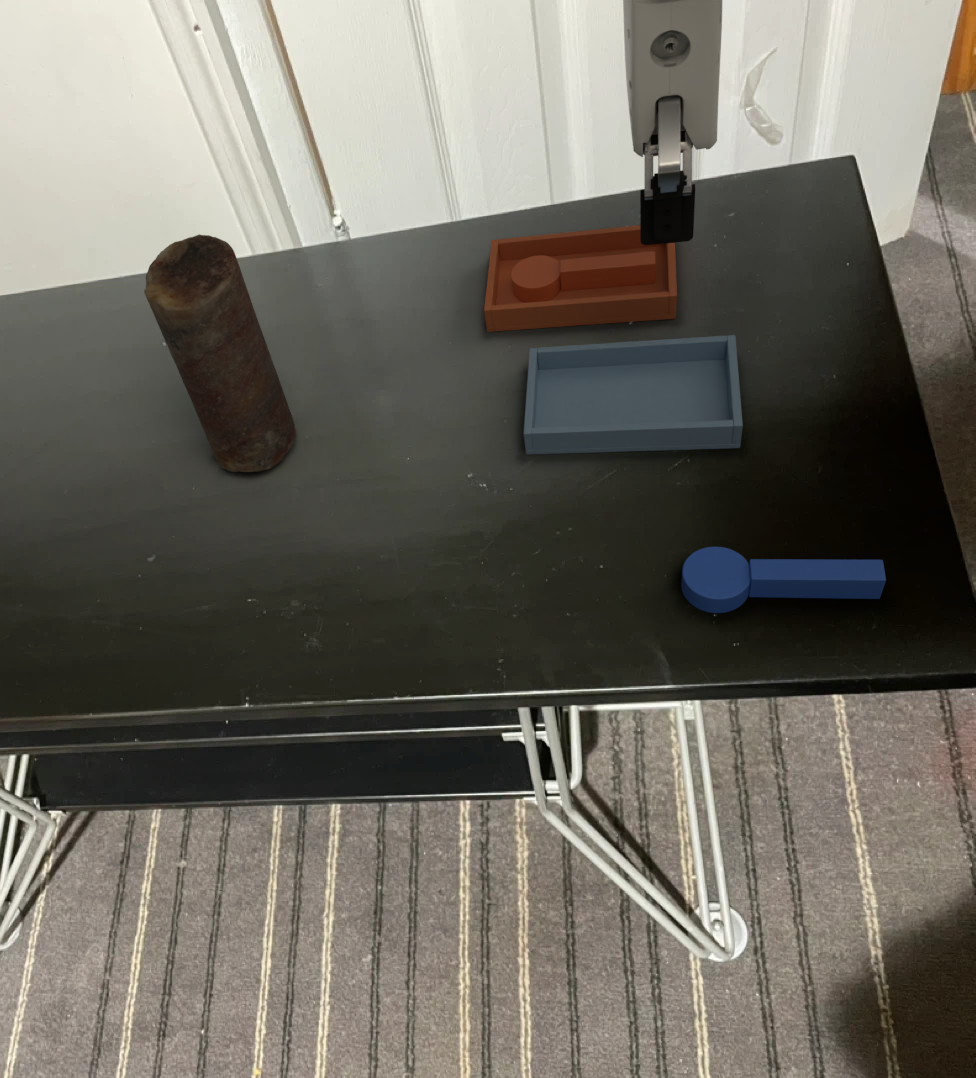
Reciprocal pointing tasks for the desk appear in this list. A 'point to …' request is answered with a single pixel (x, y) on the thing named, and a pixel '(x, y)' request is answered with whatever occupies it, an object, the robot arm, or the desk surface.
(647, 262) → the terracotta spoon
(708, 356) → the blue tray
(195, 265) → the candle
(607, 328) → the desk surface
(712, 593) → the blue spoon
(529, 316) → the terracotta tray
